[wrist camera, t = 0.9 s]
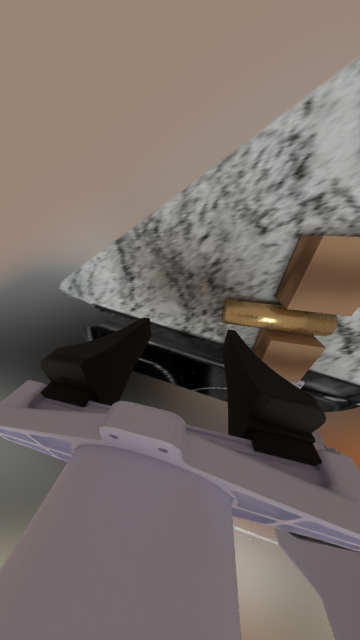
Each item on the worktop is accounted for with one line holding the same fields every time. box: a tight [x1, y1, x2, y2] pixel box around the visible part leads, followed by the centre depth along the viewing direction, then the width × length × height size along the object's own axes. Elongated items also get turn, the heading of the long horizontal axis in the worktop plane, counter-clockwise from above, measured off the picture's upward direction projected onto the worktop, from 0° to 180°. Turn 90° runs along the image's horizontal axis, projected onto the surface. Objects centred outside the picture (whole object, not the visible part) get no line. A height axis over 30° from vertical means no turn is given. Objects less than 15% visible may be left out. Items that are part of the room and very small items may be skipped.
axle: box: [222, 300, 338, 336], centre depth 18 cm, size 12×3×3 cm, turn 88°
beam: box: [252, 236, 360, 383], centre depth 17 cm, size 18×6×3 cm, turn 178°
